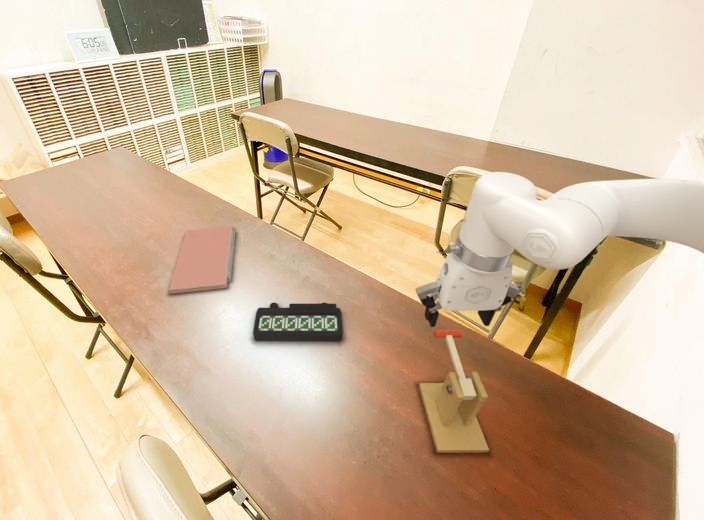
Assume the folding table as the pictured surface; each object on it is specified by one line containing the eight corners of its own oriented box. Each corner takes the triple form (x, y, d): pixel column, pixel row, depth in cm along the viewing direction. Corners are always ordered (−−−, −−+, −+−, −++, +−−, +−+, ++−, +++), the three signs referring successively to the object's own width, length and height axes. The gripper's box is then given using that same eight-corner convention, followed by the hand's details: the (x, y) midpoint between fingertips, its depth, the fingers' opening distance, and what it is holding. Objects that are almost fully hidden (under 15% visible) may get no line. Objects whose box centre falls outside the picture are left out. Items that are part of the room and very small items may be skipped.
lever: (432, 333, 65) (435, 327, 63) (457, 332, 64) (461, 327, 63) (451, 400, 56) (455, 396, 55) (480, 399, 56) (485, 395, 54)
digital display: (339, 299, 83) (342, 334, 75) (339, 307, 85) (342, 342, 77) (258, 299, 83) (252, 333, 76) (259, 307, 85) (254, 341, 78)
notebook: (230, 287, 91) (229, 283, 90) (170, 294, 90) (168, 289, 89) (236, 229, 113) (235, 224, 112) (187, 233, 112) (186, 229, 111)
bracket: (418, 385, 68) (430, 352, 60) (461, 385, 68) (479, 351, 60) (436, 452, 58) (454, 422, 51) (487, 452, 58) (512, 422, 50)
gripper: (433, 269, 47) (415, 338, 57) (554, 266, 46) (514, 337, 56) (419, 237, 53) (404, 305, 63) (525, 234, 53) (494, 303, 63)
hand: (456, 320), depth 60 cm, fingers open, 9 cm apart
